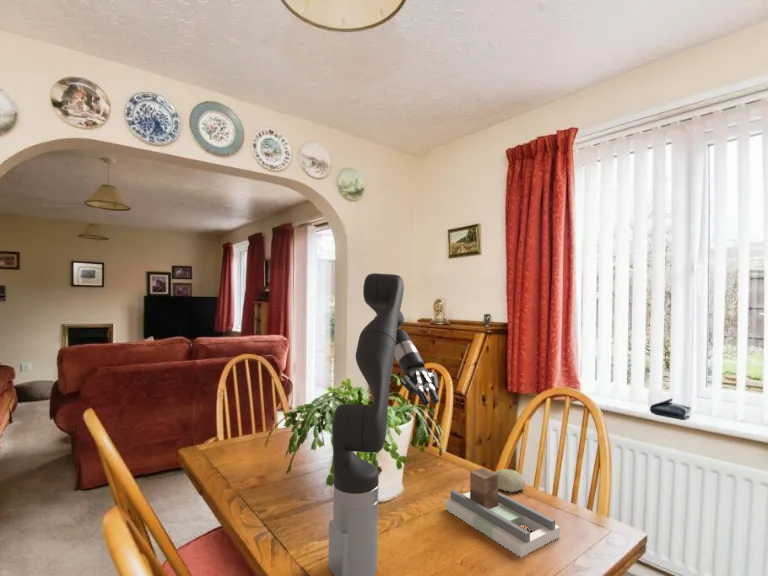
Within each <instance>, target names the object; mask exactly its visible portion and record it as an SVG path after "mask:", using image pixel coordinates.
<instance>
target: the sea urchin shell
mask: <svg viewBox="0 0 768 576" xmlns="http://www.w3.org/2000/svg"><path fill="white" fill-rule="evenodd" d="M494 473H496V474H498V488H499V489H498V490H500V489H501V491H502V490H504V491H503V492H506V491H509V492H508V493H515V491H516V492H517V491H518V492H520V491H519V490H521V489H523V488H524V489H525V487H526V482H525V478H524V477H523V475H522V474H520V472H518V471H516V470H514V469H510V468H500V469H498V470H496V471H495V472H494ZM524 484H525V485H524ZM524 489H523V490H524ZM521 491H522V490H521Z"/></svg>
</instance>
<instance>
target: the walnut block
mask: <svg viewBox="0 0 768 576" xmlns="http://www.w3.org/2000/svg"><path fill="white" fill-rule="evenodd" d="M469 477H470V478H469V479H470V481H469V482H470V483H469V486H470V487H469V488H470V489H469V492H470V499H471V500H473V501H475V502H477V503H479V504H480V505H482V506H484V507H486V508H487V509H491V508H494V507H496V506H498V492H499V489H498V474H496V473H495V472H494V471H492V470H490V469H488V468H486V467H481V468H478V469H475V470H472V471H470V476H469Z"/></svg>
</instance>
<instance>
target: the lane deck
mask: <svg viewBox="0 0 768 576" xmlns="http://www.w3.org/2000/svg"><path fill="white" fill-rule="evenodd" d="M444 506H445V509H446V510H445V509H444V510H445V511H447V510H448V511H449V512H448V511H447V512H448V513H450V514H451V513H452V514H451V515H453V514H454V515H455V517H456V516H457V517H456V518H458V519H459V518H460V519H459V520H461V519H462V520H463V521H462V520H461V521H462V522H464V521H465V522H466V524H467V523H468V524H467V525H469V526H470V525H471V526H470V527H472V528H473V527H474V529H475V530H477V531H478V530H479V531H478V532H479V533H481V532H482V534H483V533H484V534H485V535H484V534H483V535H484V536H486V535H487V536H486V537H488V538H489V537H490V538H489V539H491V540H492V539H493V540H492V541H494V540H495V541H496V542H495V541H494V542H495V543H497V542H498V543H497V544H499V545H500V544H501V545H500V546H502V547H503V546H504V547H503V548H505V549H506V548H507V549H506V550H508V549H509V550H508V551H509V552H511V551H512V552H511V553H512V554H514V553H515V555H516V556H517V557H519V556H520V557H519V558H523V557H525V556H527V555H529V554H531V553H532V551H533V552H535V551H536V549H537V550H539V549H541V548H542V546H543V547H544V545H545V544H547V543H548V544H550V543H552V542H554V541H556V540H558V539H560V538H561V535H560V534H561V530H560V529H561V527H560V526H559V525H557V524H556V520H555V519H553V518H551V517H549V516H547V515H545V514H543V513H541V512H539V511H537V510H535V509H534V508H531V507H529V506H527V505H526V504H523V503H521V502H519V501H517V500H515V499H514V498H511V497H509V496H507V495H505V494H504V493H501V492H499V491H498V506H496V507H494V508H491V509H487V508H486V507H484V506H482V505H480V504H479V503H477V502H475V501H473V500H471V499H470V491H468V492H465V493H460V492H459V491H457V490H455V489H452V490H450V497H449V498H448V499H445V505H444ZM454 515H453V516H454ZM465 522H464V523H465ZM521 525H524V526H526V527H528V528H529V529H531V530H530V531H529V529H528V528H527V530H526V529H524V528H525V527H524V528H522V527H520V526H521ZM532 530H533V531H534V532H533V531H532ZM559 537H560V538H559ZM557 538H558V539H557ZM555 539H556V540H555ZM553 540H554V541H553ZM551 541H552V542H551ZM549 542H550V543H549ZM548 544H547V545H548ZM545 546H546V545H545ZM540 547H541V548H540ZM538 548H539V549H538ZM534 550H535V551H534ZM530 552H531V553H530ZM528 553H529V554H528Z"/></svg>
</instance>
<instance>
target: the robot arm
mask: <svg viewBox="0 0 768 576" xmlns="http://www.w3.org/2000/svg"><path fill="white" fill-rule="evenodd" d="M363 283H364V284H363V290H362V293H363V299H364V302H365V304H366V305H367V306H368V307H369V308H371V309H372V311H374V313H375V314H376V315H375V316H374V318H373V319H371V321H370V322H368V324H366V326H365V327H364V328H362V330H361V332H360V334H359V336H358V337H359V338H358V341H357V345H356V346H357V347H356V350H355V351H356V352H355V361H356V365H357V366H358V369H359V371H360V373H361V375H362V377H363V378H364V381H366V383H367V385H368V388H369V389H370V393H371V395H372V400H373V402H372V404H355V403H354V404H353V403H342V404H339V405H338V406H337V407H336V409H335V411H334V413H333V416H332V417H333V418H332V426H331V427H332V429H331V430H332V431H331V434H332V438H331V439H332V459H333V460H332V468H333V469H332V471H333V504H332V505H333V506H332V508H333V509H332V520H330V521H329V523H328V562H327V563H328V564H327V565H328V567H327V568H328V570H329V571H330V572H331V574H333V576H376V573H377V572H378V550H379V549H378V547H379V545H378V542H379V537H378V536H379V482H380V481H379V470H378V469H377V467H376V466H375V465H374V464H372V463H370V462H369V461H367V460H364V459H363V458H361V457H360V456H358V455H357V454H356V453H357V452H360V453H379V452H380V451H382V449H383V447H384V445H385V441H386V437H387V427H388V415H389V413H388V412H389V397H390V386H391V380H392V372H393V366H394V359H396V362H397V363H398V366H399V368H400V370H401V372H402V374H403V377H402V378H401V379H400V380H399V381H400V384H402V386H403V387H404V388H405V389H406V390H407V391H408V392H409V393H410V394H411V395H412V396H414V395H416V396H418V397H419V400H420V401H421V403H422V405H424V406H425V407H427V406H428V405H430V399H431V401H432V403H433V405H438V403H439V401H440V397H439V396H438V394H437V392H436V390H437V389H439V380H438V375H437V373H436V372H433V373H432V372H429V371H428V369H426V367H425V365H426V364H425V362H424V360H423V358H422V356H421V355H420V352H419V351H418V349H417V347H416V346H415V344H414V343H413V341H412V340H411V338H410V336H409V334H408V333H407V331H406V330H405V329H402V328H400V329H399V327H401V326H403V325H404V323H405V322H404V321H405V318H404V314H403V313H402V311H401V308H402V302H403V298H404V293H405V292H404V291H405V284H404V279H403V278H402V277H401V276H400V275H398V274H391V273H376V272H374V273H369V274H368V275H366V277H365V279H364V282H363ZM424 390H426V392H427V393H428V395H427V394H426V392H425V391H424ZM428 396H429V398H430V399H429V398H428ZM355 452H356V453H355Z"/></svg>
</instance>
